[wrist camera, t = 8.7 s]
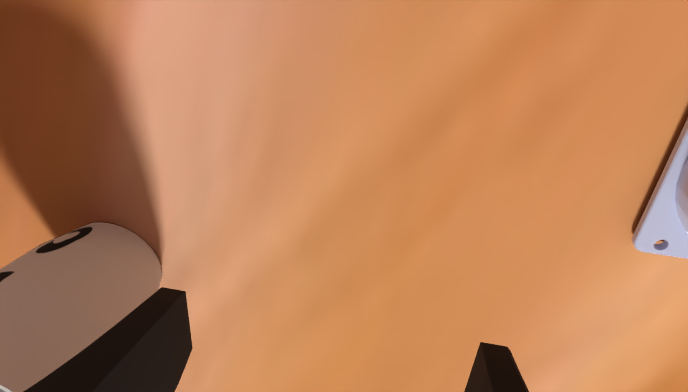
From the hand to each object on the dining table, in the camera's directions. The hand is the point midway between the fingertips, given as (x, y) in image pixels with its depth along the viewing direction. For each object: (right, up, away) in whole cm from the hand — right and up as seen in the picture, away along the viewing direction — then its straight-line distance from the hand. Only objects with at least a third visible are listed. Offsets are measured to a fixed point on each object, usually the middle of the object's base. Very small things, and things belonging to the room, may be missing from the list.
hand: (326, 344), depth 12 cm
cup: (-12, 0, +15) cm, 19 cm away
